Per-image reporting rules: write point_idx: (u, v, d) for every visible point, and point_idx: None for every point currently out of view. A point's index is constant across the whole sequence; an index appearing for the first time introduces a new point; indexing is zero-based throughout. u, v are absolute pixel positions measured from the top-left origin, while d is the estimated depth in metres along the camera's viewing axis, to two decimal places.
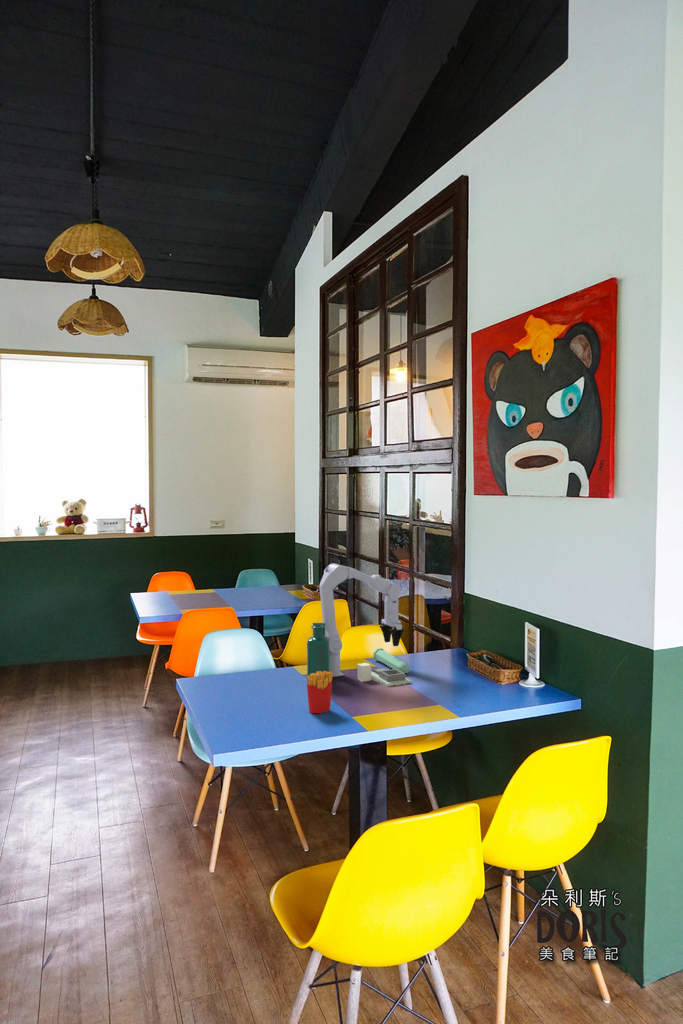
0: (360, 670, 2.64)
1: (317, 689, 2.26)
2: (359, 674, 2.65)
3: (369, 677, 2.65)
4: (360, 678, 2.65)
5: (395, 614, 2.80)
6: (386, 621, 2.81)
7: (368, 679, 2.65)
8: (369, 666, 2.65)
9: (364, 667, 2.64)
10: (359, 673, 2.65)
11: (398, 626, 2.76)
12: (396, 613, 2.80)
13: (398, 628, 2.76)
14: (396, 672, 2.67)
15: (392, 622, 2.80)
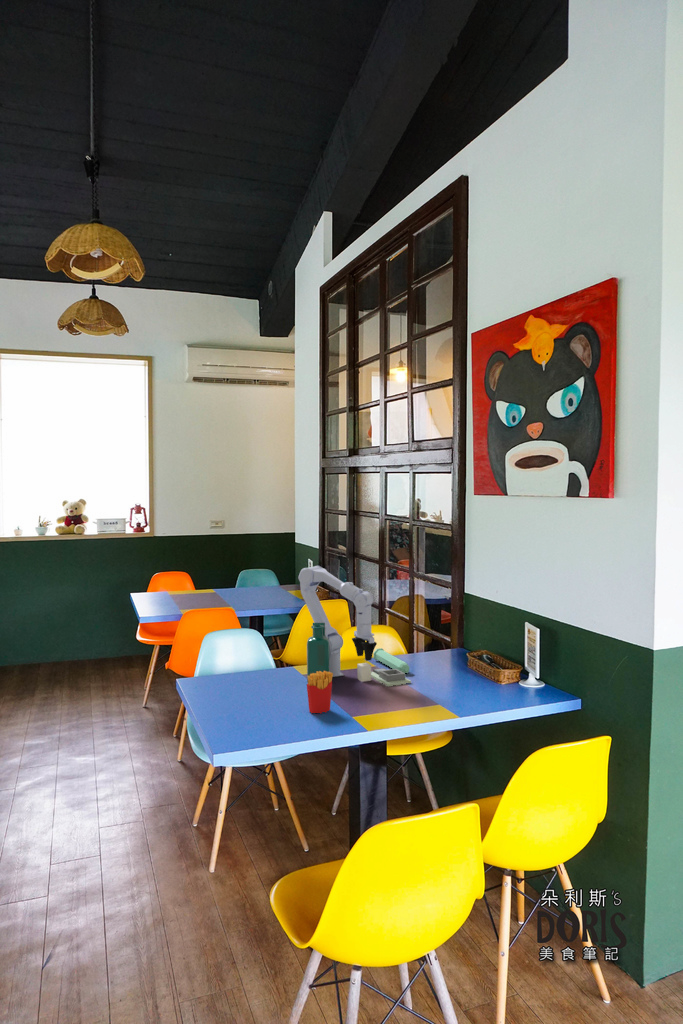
0: (360, 670, 2.64)
1: (317, 689, 2.26)
2: (359, 674, 2.65)
3: (369, 677, 2.65)
4: (360, 678, 2.65)
5: (367, 626, 2.63)
6: (358, 634, 2.64)
7: (368, 679, 2.65)
8: (369, 666, 2.65)
9: (364, 667, 2.64)
10: (359, 673, 2.65)
11: (370, 639, 2.59)
12: (369, 625, 2.63)
13: (370, 641, 2.59)
14: (396, 672, 2.67)
15: (364, 635, 2.63)
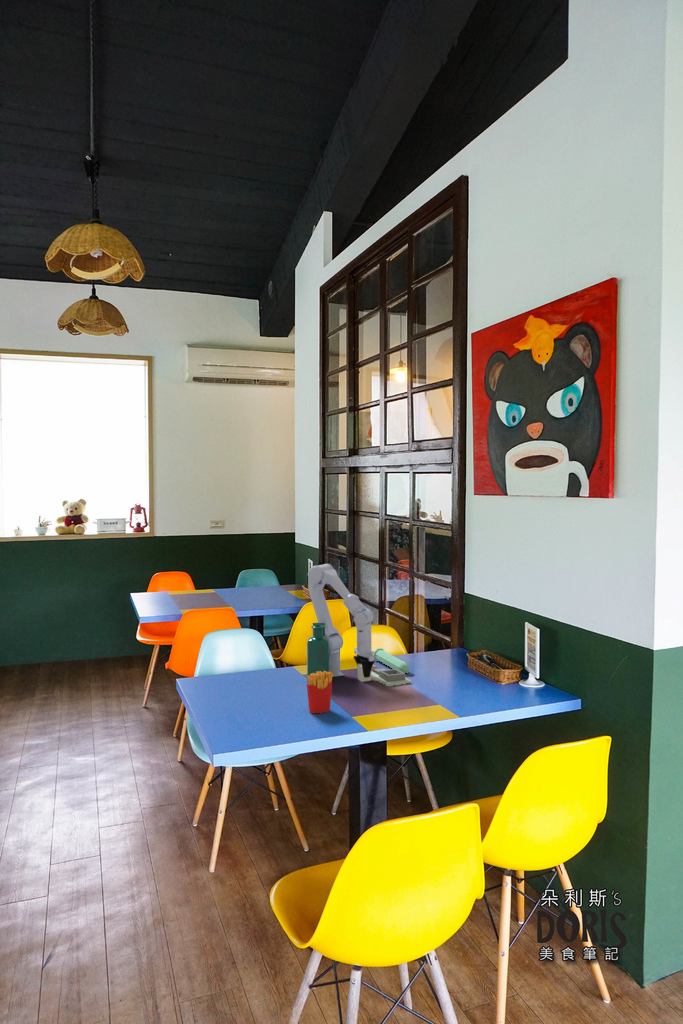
0: (360, 670, 2.64)
1: (317, 689, 2.26)
2: (359, 674, 2.65)
3: (369, 677, 2.65)
4: (360, 678, 2.65)
5: (368, 644, 2.63)
6: (358, 651, 2.64)
7: (368, 679, 2.65)
8: None
9: None
10: (359, 673, 2.65)
11: (370, 657, 2.59)
12: (369, 643, 2.64)
13: (370, 659, 2.59)
14: (396, 672, 2.67)
15: (364, 653, 2.63)
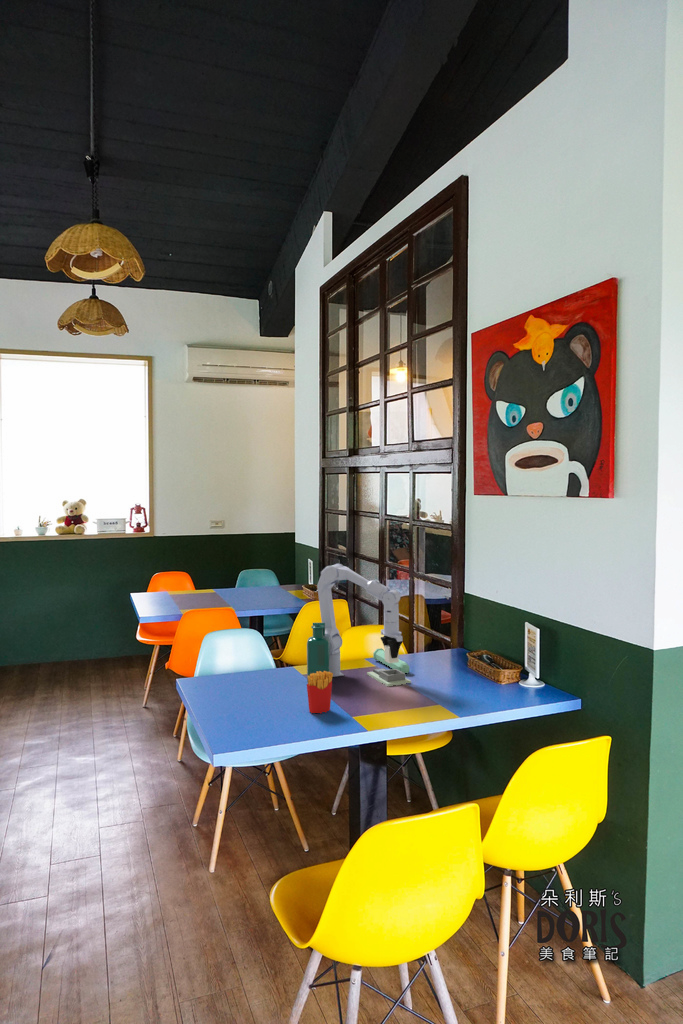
0: (387, 651, 2.62)
1: (317, 689, 2.26)
2: (386, 656, 2.63)
3: (396, 659, 2.62)
4: (387, 660, 2.62)
5: (395, 624, 2.61)
6: (386, 632, 2.62)
7: (395, 661, 2.62)
8: None
9: None
10: (386, 655, 2.63)
11: (398, 638, 2.57)
12: (396, 623, 2.61)
13: (398, 640, 2.57)
14: (396, 672, 2.67)
15: (392, 633, 2.61)
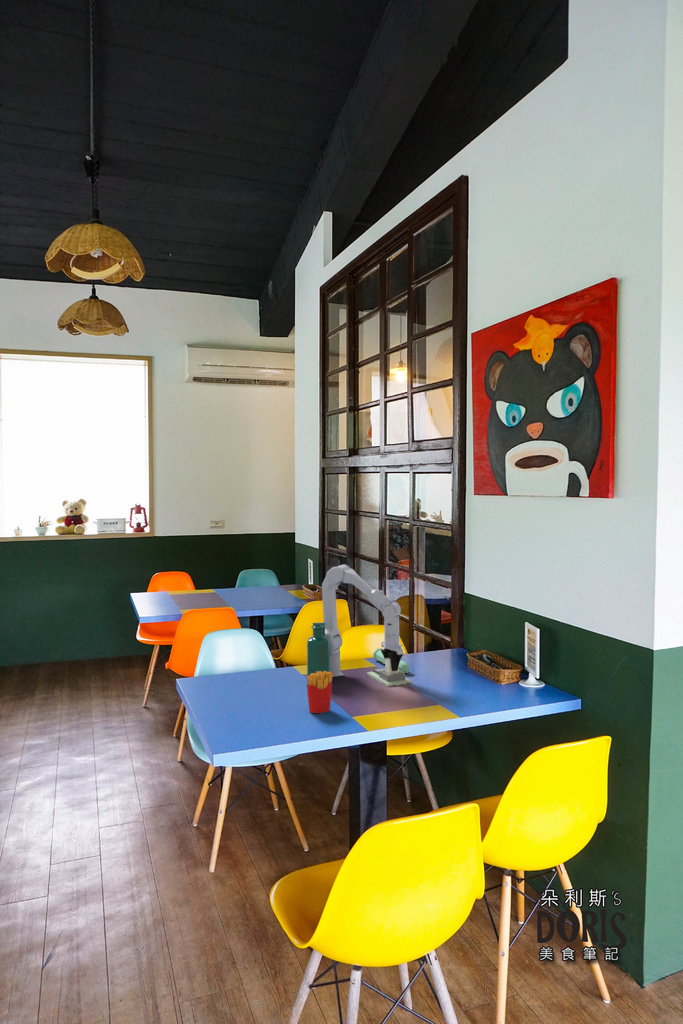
0: (388, 664, 2.62)
1: (317, 689, 2.26)
2: (387, 668, 2.63)
3: (397, 671, 2.63)
4: (388, 672, 2.62)
5: (396, 637, 2.61)
6: (386, 645, 2.62)
7: (396, 673, 2.62)
8: None
9: None
10: (387, 667, 2.63)
11: (399, 651, 2.57)
12: (397, 636, 2.61)
13: (399, 653, 2.57)
14: None
15: (392, 646, 2.61)
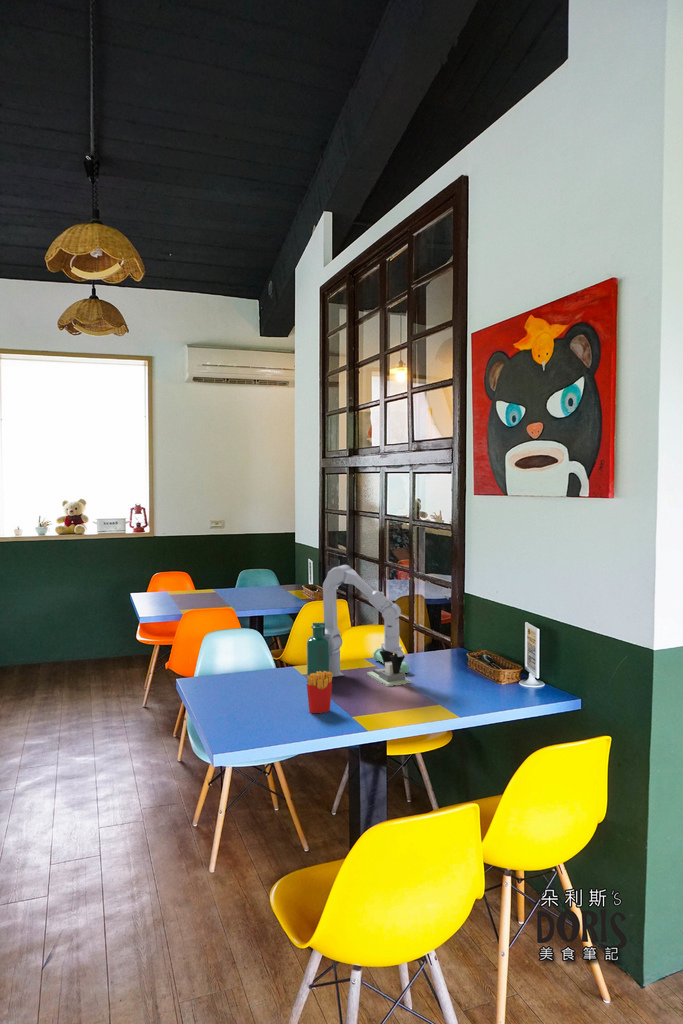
0: (388, 668, 2.62)
1: (317, 689, 2.26)
2: (387, 672, 2.63)
3: None
4: None
5: (396, 639, 2.61)
6: (386, 647, 2.62)
7: None
8: None
9: None
10: (387, 671, 2.63)
11: (399, 653, 2.57)
12: (397, 638, 2.61)
13: (399, 655, 2.57)
14: None
15: (392, 648, 2.61)
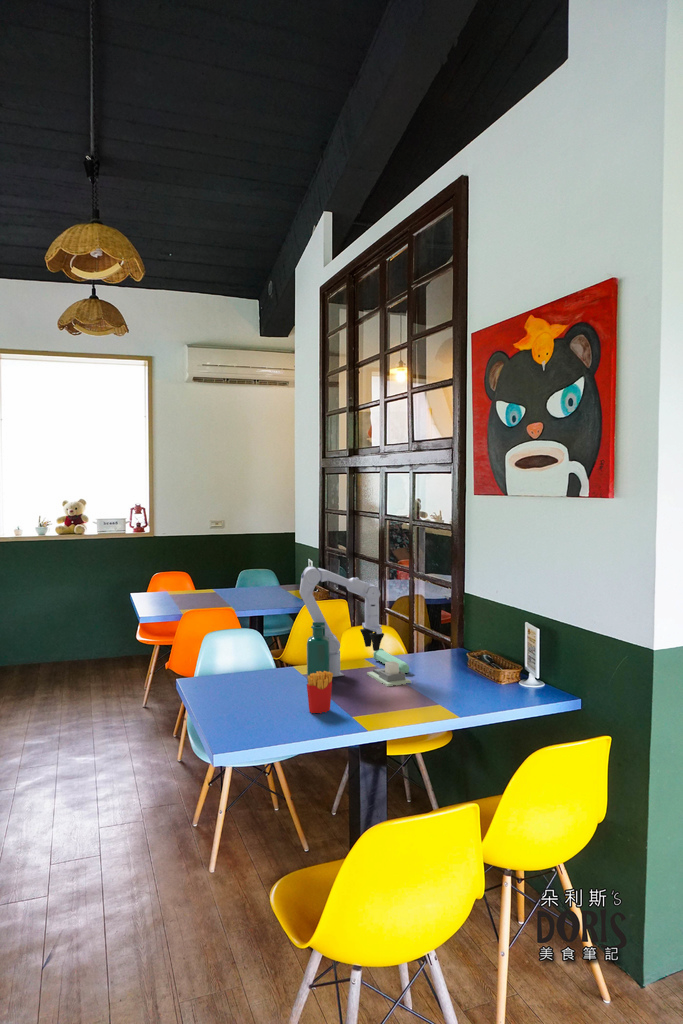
0: (388, 668, 2.62)
1: (317, 689, 2.26)
2: (387, 672, 2.63)
3: None
4: None
5: (375, 618, 2.73)
6: (366, 625, 2.73)
7: None
8: (397, 664, 2.62)
9: (392, 665, 2.62)
10: (387, 671, 2.63)
11: (378, 630, 2.68)
12: (376, 617, 2.73)
13: (378, 632, 2.68)
14: None
15: (372, 626, 2.72)
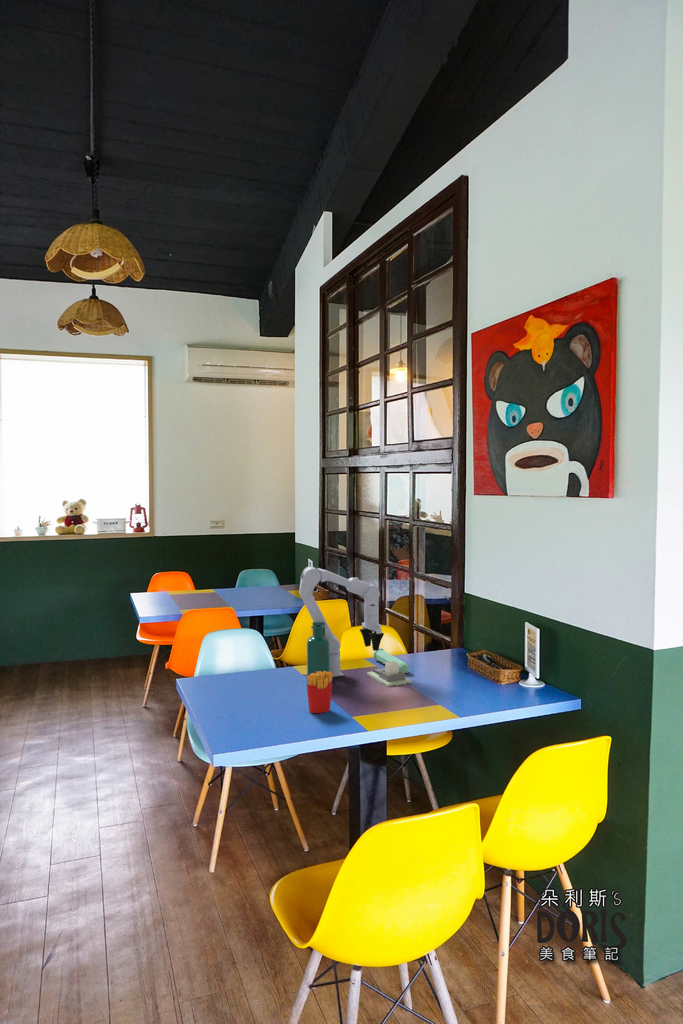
0: (388, 668, 2.62)
1: (317, 689, 2.26)
2: (387, 672, 2.63)
3: None
4: None
5: (375, 618, 2.73)
6: (366, 625, 2.74)
7: None
8: (397, 664, 2.62)
9: (392, 665, 2.62)
10: (387, 671, 2.63)
11: (378, 630, 2.69)
12: (376, 616, 2.73)
13: (378, 632, 2.69)
14: None
15: (372, 626, 2.73)
